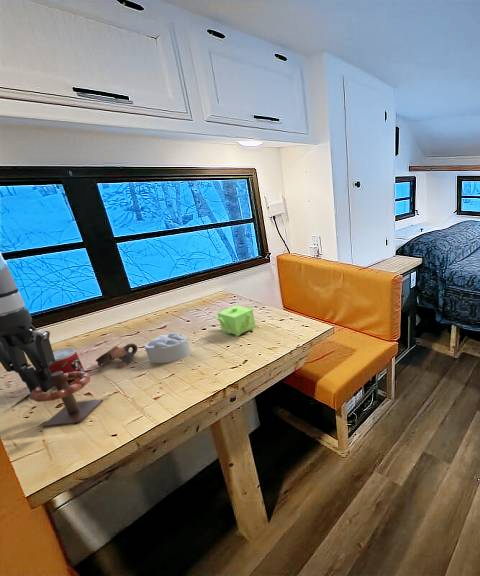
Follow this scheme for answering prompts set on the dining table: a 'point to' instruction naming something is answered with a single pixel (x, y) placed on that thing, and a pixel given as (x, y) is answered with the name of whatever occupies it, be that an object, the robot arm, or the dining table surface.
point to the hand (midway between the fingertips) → (43, 389)
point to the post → (70, 405)
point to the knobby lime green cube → (236, 320)
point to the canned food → (67, 363)
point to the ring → (83, 381)
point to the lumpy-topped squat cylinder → (168, 348)
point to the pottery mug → (119, 355)
